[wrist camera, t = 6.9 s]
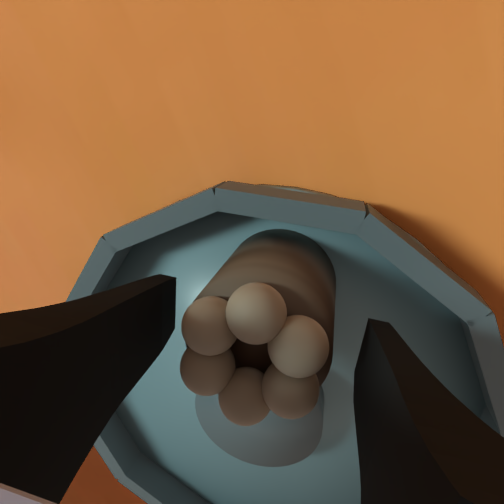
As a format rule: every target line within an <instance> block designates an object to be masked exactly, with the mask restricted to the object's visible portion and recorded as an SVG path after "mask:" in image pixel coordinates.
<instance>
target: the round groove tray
mask: <svg viewBox="0 0 504 504" xmlns="http://www.w3.org/2000/svg"><path fill="white" fill-rule="evenodd" d="M270 229H286V230H291V231H296V232H298V233H301V234H303V235H305V236H307V237H309V238H310V239H312V240H313V241H315V242H316V243H317V244H318V245H319V246H320V247H321V248H322V249H323V250H324V251H325V252H326V254H327V255H328V257H329V258H330V260H331V262H332V264H333V267H334V271H335V275H336V298H335V320H334V342H333V358H332V364H331V368H330V371H329V373H328V375H327V377H326V379H325V381H324V382H323V383H322V385H321V386H320V393H319V398H318V401H317V403H316V405H315V407H314V408H313V410H312V411H311V412H310V413H308V414H307V415H305V416H304V417H301V418H298V419H286V418H282V417H280V416H278V415H276V414H275V413H274V412H272V411H271V410H270V411H269V413H268V415H267V416H266V417H265V418H264V419H263V420H262V421H260V422H259V423H257V424H255V425H251V426H240V425H237V424H234V423H233V422H231V421H229V420H228V419H227V418H226V417H225V415H224V414H223V412H222V411H221V408H220V405H219V400H218V394H216V395H212V396H201V395H198V394H195V393H193V392H192V391H190V390H189V389H188V388H187V387H186V385H185V384H184V382H183V380H182V378H181V375H180V361H181V358H182V356H183V354H184V352H185V350H186V349H187V348H186V344H185V340H184V338H183V335H182V331H181V322H182V318H183V315H184V313H185V311H186V310H187V308H188V307H189V306H190V305H191V304H192V303H193V301H194V300H195V298H196V297H197V296H198V295H199V293H200V292H201V291H202V290H203V289H204V287H205V286H206V285H207V284H208V283H209V281H210V280H211V279H212V278H213V277H214V275H215V274H216V273H217V272H218V271H219V269H220V268H221V267H222V266H223V264H224V263H225V262H226V261H227V260H228V258H229V257H230V256H231V255H232V254H233V252H234V251H235V250H236V249H237V248H238V246H239V245H240V244H241V243H242V242H243V241H245V240H246V239H247V238H248V237H250V236H252V235H254V234H256V233H258V232H261V231H265V230H270ZM158 274H162V275H167V276H172V277H176V317H175V330H174V331H173V333H172V335H171V337H170V339H169V340H168V342H167V344H166V345H165V347H164V349H163V350H162V352H161V353H160V355H159V356H158V357H157V359H156V360H155V361H154V362H153V364H152V365H151V366H150V367H149V369H148V370H147V371H146V373H145V374H144V375H143V376H142V378H141V379H140V380H139V381H138V383H137V384H136V385H135V386H134V388H133V389H132V390H131V391H130V393H129V394H128V395H127V396H126V398H125V399H124V400H123V401H122V403H121V404H120V405H119V407H118V408H117V410H116V411H115V412H114V414H113V415H112V417H111V418H110V420H109V421H108V423H107V425H106V426H105V428H104V429H103V431H102V432H101V434H100V435H99V437H98V439H97V440H96V442H95V443H94V447H95V448H96V450H97V451H98V453H99V454H100V456H101V457H102V459H103V460H104V462H105V463H106V465H107V466H108V468H109V470H110V471H111V473H112V474H113V476H114V477H115V479H118V482H120V483H121V484H122V485H124V486H125V487H126V488H128V489H129V490H130V491H132V492H133V493H134V494H136V495H137V496H138V497H139V498H141V499H142V500H143V501H145V502H146V503H147V504H361V483H360V468H359V457H358V447H357V436H356V426H355V415H354V404H353V391H354V371H355V367H356V363H357V359H358V356H359V352H360V348H361V344H362V341H363V337H364V333H365V329H366V325H367V322H368V318H371V319H375V320H380V321H385V322H389V323H390V324H391V325H392V326H393V327H394V329H395V330H396V331H397V332H398V334H399V335H400V336H401V337H402V339H403V340H404V341H405V342H406V344H407V345H408V346H409V347H410V348H411V350H412V351H413V352H414V353H415V354H416V356H417V357H418V358H419V359H420V360H421V361H422V363H423V364H424V365H425V366H426V367H427V368H428V369H429V370H430V371H431V373H432V374H433V375H434V376H435V377H436V378H437V379H438V380H439V381H440V382H441V383H442V384H443V385H444V386H445V387H446V388H447V389H448V390H449V391H450V392H451V393H452V394H453V395H454V396H455V397H456V398H457V399H458V400H459V401H461V402H462V403H463V404H464V405H465V406H466V407H467V408H468V409H470V410H471V411H472V412H473V413H474V414H475V415H476V416H477V417H479V418H480V419H481V420H482V421H483V422H485V423H486V424H487V425H488V426H490V427H491V428H492V429H493V430H495V431H496V432H497V433H498V434H500V435H501V436H502V437H504V347H503V343H502V340H501V336H500V332H499V329H498V325H497V322H496V318H495V314H494V313H493V312H492V310H491V309H490V308H489V306H488V305H487V304H486V302H485V301H484V300H483V298H482V297H481V296H480V295H479V293H478V292H477V291H476V290H475V289H474V288H473V287H471V286H470V285H469V284H468V283H466V282H465V281H464V280H463V279H461V278H460V277H459V276H458V275H456V274H455V273H454V272H453V271H451V270H450V269H449V268H448V267H446V266H445V265H444V264H443V263H442V262H441V261H440V260H439V259H438V258H437V257H436V256H435V255H434V254H433V253H431V252H430V251H429V250H428V249H427V248H426V247H425V246H424V245H423V244H422V243H421V242H420V241H418V240H417V239H416V238H414V237H413V236H412V235H410V234H409V233H407V232H406V231H404V230H403V229H401V228H400V227H399V226H397V225H396V224H394V223H393V222H391V221H390V220H388V219H387V218H385V217H384V216H383V215H382V214H380V213H379V212H378V211H377V210H375V209H374V208H373V207H372V206H370V205H369V204H368V203H367V204H366V205H364V201H358V200H351V199H345V198H339V197H336V196H333V195H330V194H327V193H322V192H317V191H313V190H308V189H304V188H299V187H292V186H280V185H268V184H259V185H253V184H246V183H240V182H233V181H227V182H225V181H224V182H222V183H220V184H217V185H215V186H213V187H210V188H208V189H206V190H204V191H201V192H199V193H197V194H194V195H192V196H190V197H187V198H185V199H182V200H179V201H177V202H175V203H173V204H171V205H169V206H167V207H164V208H162V209H160V210H157V211H155V212H153V213H150V214H148V215H146V216H143V217H141V218H139V219H136V220H134V221H132V222H130V223H127V224H125V225H123V226H121V227H119V228H117V229H114V230H112V231H110V232H108V233H106V234H104V235H103V236H102V237H101V238H100V239H99V241H98V243H97V245H96V247H95V249H94V250H93V252H92V254H91V256H90V258H89V260H88V262H87V263H86V265H85V267H84V269H83V271H82V273H81V274H80V276H79V278H78V280H77V282H76V284H75V285H74V287H73V289H72V291H71V293H70V295H69V297H68V298H67V300H66V302H68V301H72V300H75V299H79V298H83V297H86V296H89V295H93V294H96V293H100V292H103V291H106V290H109V289H112V288H116V287H119V286H122V285H125V284H128V283H131V282H134V281H137V280H140V279H143V278H146V277H150V276H153V275H158Z"/></svg>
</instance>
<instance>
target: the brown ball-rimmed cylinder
mask: <svg viewBox="0 0 504 504" xmlns="http://www.w3.org/2000/svg"><path fill="white" fill-rule="evenodd" d="M335 298H336V275H335V271H334V267H333V264H332V262H331V260H330V258H329V257H328V255H327V254H326V252H325V251H324V250H323V249H322V248H321V247H320V246H319V245H318V244H317V243H316V242H315V241H313V240H312V239H310V238H309V237H307V236H305V235H303V234H301V233H298V232H296V231H291V230H286V229H270V230H265V231H261V232H258V233H256V234H254V235H252V236H250V237H248V238H247V239H246V240H245V241H243V242H242V243H241V244H240V245H239V246H238V248H237V249H236V250H235V251H234V252H233V254H232V255H231V256H230V257H229V258H228V260H227V261H226V262H225V263H224V264H223V266H222V267H221V268H220V269H219V271H218V272H217V273H216V274H215V275H214V277H213V278H212V279H211V280H210V281H209V283H208V284H207V285H206V286H205V287H204V289H203V290H202V291H201V292H200V293H199V295H198V296H197V297H196V298H195V300H194V301H193V303H192V304H191V305H190V306H189V307H188V308H187V310H186V311H185V313H184V315H183V318H182V322H181V331H182V335H183V338H184V340H185V344H186V348H187V349H186V350H185V352H184V354H183V356H182V358H181V361H180V375H181V378H182V380H183V382H184V384H185V385H186V387H187V388H188V389H189V390H190V391H192V392H193V393H195V394H198V395H201V396H212V395H216V394H218V400H219V405H220V408H221V411H222V412H223V414H224V415H225V417H226V418H227V419H228V420H229V421H231V422H233V423H234V424H237V425H240V426H251V425H255V424H257V423H259V422H260V421H262V420H263V419H264V418H265V417H266V416H267V415H268V413H269V411H270V410H271V411H272V412H274V413H275V414H276V415H278V416H280V417H282V418H286V419H298V418H301V417H304V416H305V415H307V414H308V413H310V412H311V411H312V410H313V408H314V407H315V405H316V403H317V401H318V398H319V393H320V386H321V385H322V383H323V382H324V381H325V379H326V377H327V375H328V373H329V371H330V368H331V364H332V358H333V342H334V320H335Z"/></svg>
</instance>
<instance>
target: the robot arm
mask: <svg viewBox="0 0 504 504" xmlns="http://www.w3.org/2000/svg"><path fill="white" fill-rule="evenodd" d="M175 317H176V277H172V276H167V275H162V274H158V275H153V276H150V277H146V278H143V279H140V280H137V281H134V282H131V283H128V284H125V285H122V286H119V287H116V288H112V289H109V290H106V291H103V292H100V293H96V294H93V295H89V296H86V297H83V298H79V299H75V300H72V301H68V302H63V303H59V304H54V305H50V306H45V307H40V308H34V309H28V310H21V311H14V312H8V313H1V314H0V504H59V503H60V501H61V500H62V498H63V496H64V494H65V493H66V491H67V489H68V487H69V486H70V484H71V482H72V480H73V478H74V477H75V475H76V473H77V472H78V470H79V468H80V467H81V465H82V463H83V462H84V460H85V458H86V457H87V455H88V453H89V452H90V450H91V448H92V447H93V445H94V443H95V442H96V440H97V439H98V437H99V435H100V434H101V432H102V431H103V429H104V428H105V426H106V425H107V423H108V421H109V420H110V418H111V417H112V415H113V414H114V412H115V411H116V410H117V408H118V407H119V405H120V404H121V403H122V401H123V400H124V399H125V398H126V396H127V395H128V394H129V393H130V391H131V390H132V389H133V388H134V386H135V385H136V384H137V383H138V381H139V380H140V379H141V378H142V376H143V375H144V374H145V373H146V371H147V370H148V369H149V367H150V366H151V365H152V364H153V362H154V361H155V360H156V359H157V357H158V356H159V355H160V353H161V352H162V350H163V349H164V347H165V345H166V344H167V342H168V340H169V339H170V337H171V335H172V333H173V331H174V330H175ZM353 404H354V415H355V426H356V436H357V447H358V457H359V468H360V483H361V504H504V437H502V436H501V435H500V434H498V433H497V432H496V431H495V430H493V429H492V428H491V427H490V426H488V425H487V424H486V423H485V422H483V421H482V420H481V419H480V418H479V417H477V416H476V415H475V414H474V413H473V412H472V411H471V410H470V409H468V408H467V407H466V406H465V405H464V404H463V403H462V402H461V401H459V400H458V399H457V398H456V397H455V396H454V395H453V394H452V393H451V392H450V391H449V390H448V389H447V388H446V387H445V386H444V385H443V384H442V383H441V382H440V381H439V380H438V379H437V378H436V377H435V376H434V375H433V374H432V373H431V371H430V370H429V369H428V368H427V367H426V366H425V365H424V364H423V363H422V361H421V360H420V359H419V358H418V357H417V356H416V354H415V353H414V352H413V351H412V350H411V348H410V347H409V346H408V345H407V344H406V342H405V341H404V340H403V339H402V337H401V336H400V335H399V334H398V332H397V331H396V330H395V329H394V327H393V326H392V325H391V324H390V323H389V322H385V321H380V320H375V319H371V318H368V322H367V325H366V329H365V333H364V337H363V341H362V344H361V348H360V352H359V356H358V359H357V363H356V367H355V371H354V391H353Z"/></svg>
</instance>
